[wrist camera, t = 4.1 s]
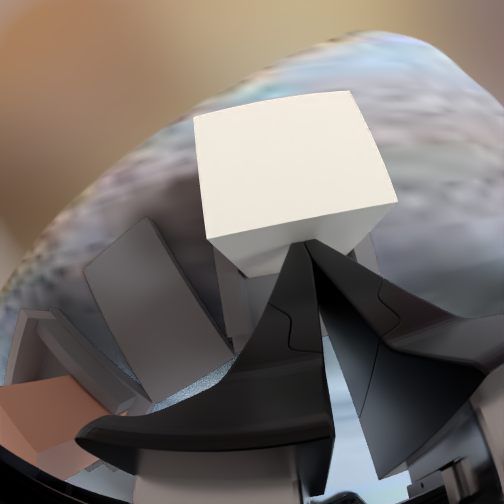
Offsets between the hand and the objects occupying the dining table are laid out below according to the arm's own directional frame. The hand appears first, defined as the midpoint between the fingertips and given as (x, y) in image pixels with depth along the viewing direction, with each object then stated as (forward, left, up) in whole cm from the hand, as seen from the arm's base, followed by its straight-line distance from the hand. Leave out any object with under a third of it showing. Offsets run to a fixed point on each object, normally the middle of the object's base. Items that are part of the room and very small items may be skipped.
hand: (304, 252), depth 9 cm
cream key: (+2, -1, -5) cm, 6 cm away
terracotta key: (0, +16, -5) cm, 17 cm away
